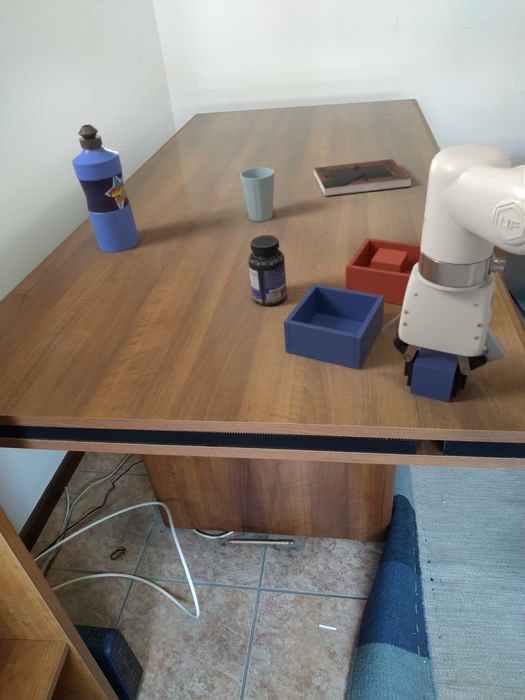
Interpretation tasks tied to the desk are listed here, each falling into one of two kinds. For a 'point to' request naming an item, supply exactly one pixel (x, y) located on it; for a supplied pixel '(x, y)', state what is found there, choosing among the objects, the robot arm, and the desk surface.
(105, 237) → the water bottle
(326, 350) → the blue bin
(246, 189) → the cup
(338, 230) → the desk surface
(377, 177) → the hardcover book
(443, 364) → the blue block
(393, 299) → the red bin
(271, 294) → the pill bottle
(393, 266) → the red block
